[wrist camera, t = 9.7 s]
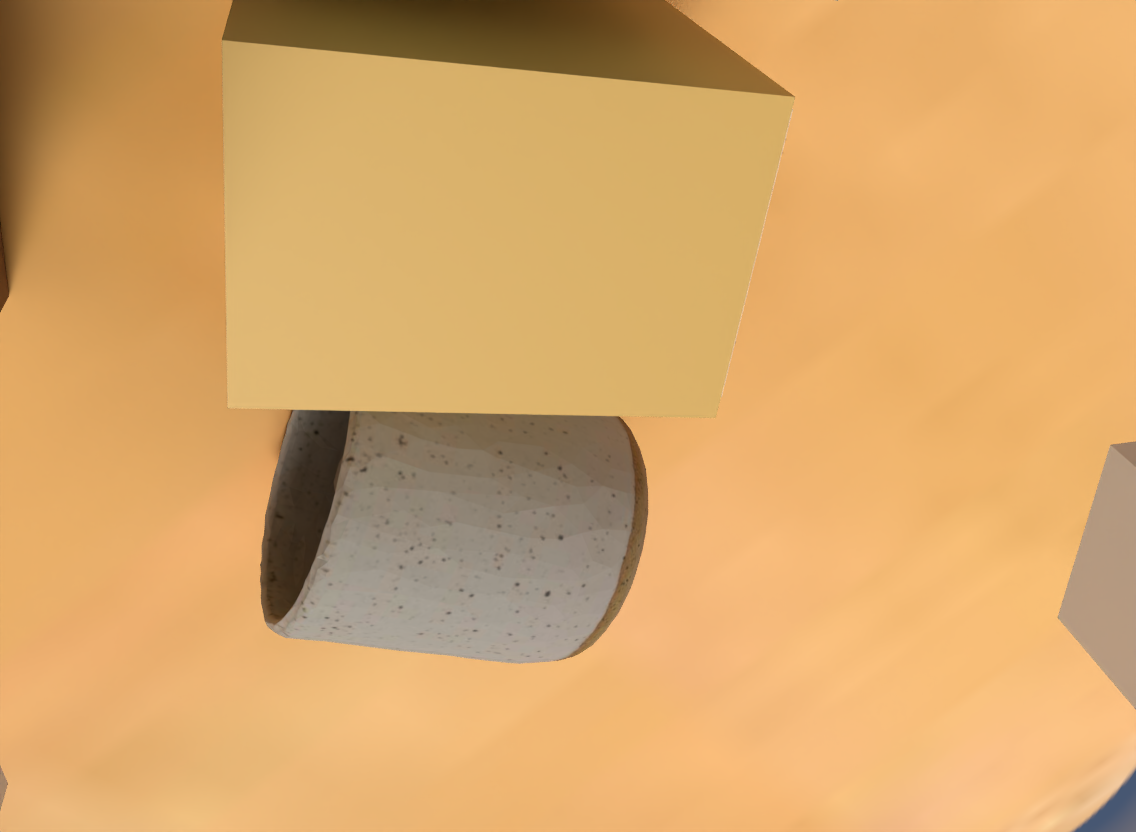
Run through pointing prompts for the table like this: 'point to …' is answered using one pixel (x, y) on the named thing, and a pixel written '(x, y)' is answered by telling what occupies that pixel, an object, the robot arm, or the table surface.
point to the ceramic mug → (453, 531)
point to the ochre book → (489, 205)
